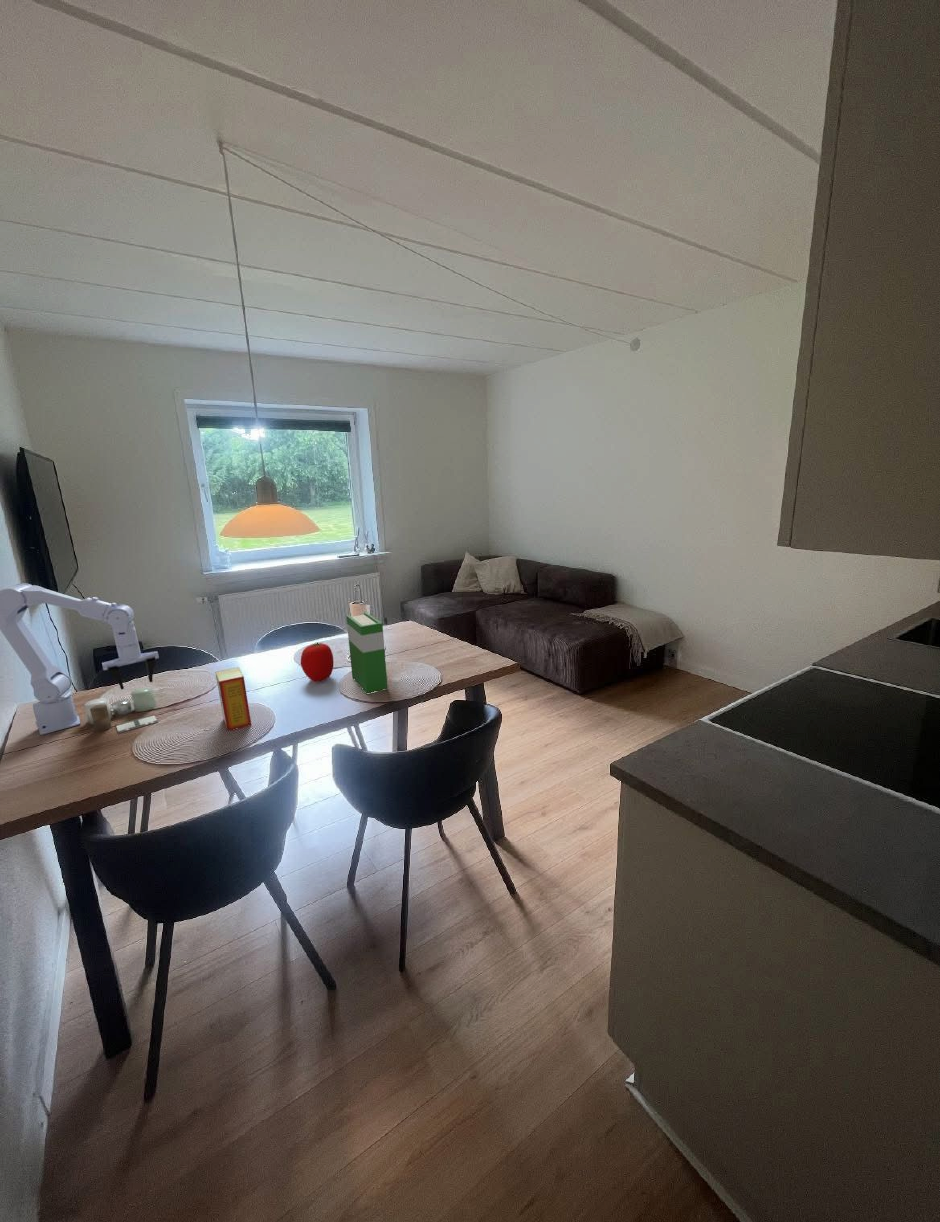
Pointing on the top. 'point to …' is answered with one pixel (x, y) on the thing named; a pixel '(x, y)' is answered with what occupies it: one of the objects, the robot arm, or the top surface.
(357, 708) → the top surface
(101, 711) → the walnut peg
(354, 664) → the hardback book
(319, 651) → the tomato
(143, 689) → the mug sage
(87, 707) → the mug white
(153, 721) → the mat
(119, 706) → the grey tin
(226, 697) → the baking soda box
